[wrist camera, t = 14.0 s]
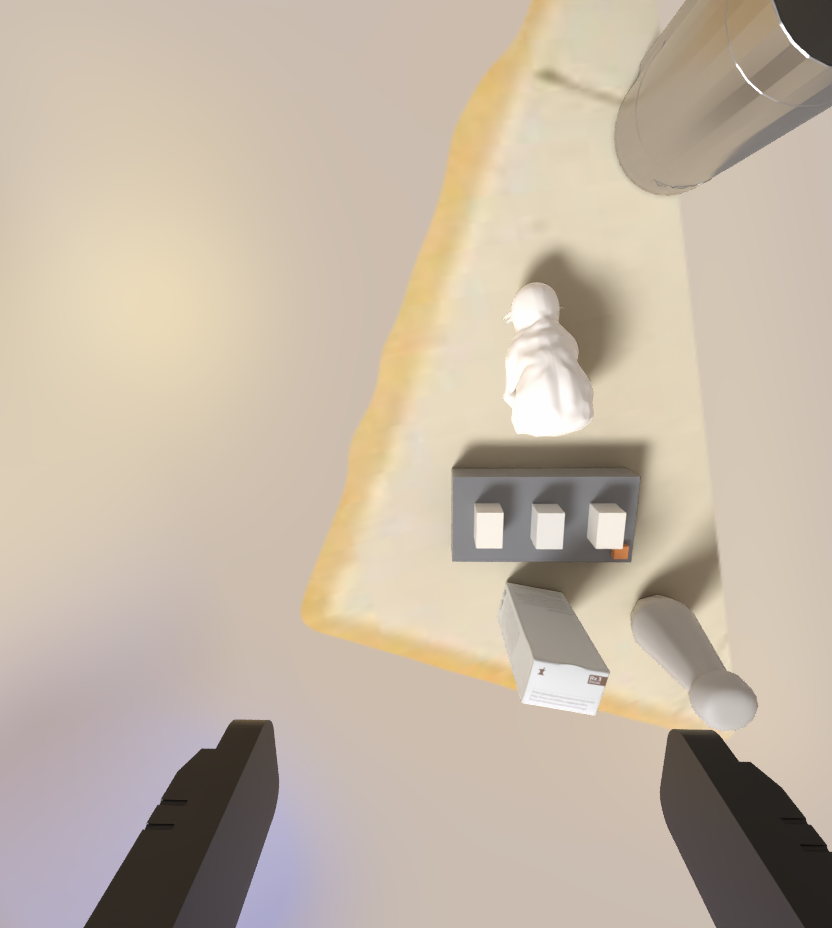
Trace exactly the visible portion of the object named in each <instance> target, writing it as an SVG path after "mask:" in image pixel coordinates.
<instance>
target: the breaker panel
mask: <svg viewBox="0 0 832 928" xmlns="http://www.w3.org/2000/svg"><path fill="white" fill-rule="evenodd" d="M639 486H640V476H639V475H637V474H635V473H634V472H632V471H631V470H629V469H628V468H452V524H451V549H452V561H463V562H631V558H632V549H633V540H634V531H635V522H636V513H637V504H638V495H639ZM532 504H558V505H559V506H560V508H561V509H562V510H563V511H564V513H565V521H564V535H563V549H536V548H535V546H534V544H533V542H532V540H531V538H530V534H531V514H532Z"/></svg>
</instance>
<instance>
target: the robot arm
mask: <svg viewBox="0 0 832 928" xmlns="http://www.w3.org/2000/svg"><path fill="white" fill-rule="evenodd" d="M831 106H832V0H686V1H685V2H684V4H683V5H682V7H681V8H680V9H679V11H678V12H677V14H676V15H675V16H674V17H673V19H672V20H671V22H670V23H669V24H668V26H667V27H666V29H665V30H664V31H663V33H662V34H661V35H660V37H659V38H658V39H657V41H656V42H655V44H654V45H653V46H652V48H651V49H650V50H649V52H648V53H647V55H646V56H645V57H644V59H643V60H642V61H641V64H640V73H639V77H638V79H637V80H636V82H635V84H634V85H633V86H632V88H631V89H630V90H629V92H628V93H627V95H626V97H625V99H624V101H623V103H622V105H621V107H620V109H619V113H618V117H617V120H616V126H615V147H616V153H617V156H618V160H619V163H620V165H621V167H622V168H623V170H624V172H625V174H626V175H627V176H628V177H629V178H630V179H631V181H632V182H633V183H634V184H636V185H637V186H639V187H640V188H642V189H643V190H645V191H648V192H651V193H654V194H658V195H675V194H681V193H684V192H687V191H689V190H692V189H694V188H696V187H697V186H699V185H701V184H703V183H705V182H707V181H709V180H711V179H712V178H713V177H714V176H716V175H718V174H719V173H721V172H723V171H724V170H726V169H728V168H730V167H731V166H733V165H735V164H737V163H738V162H740V161H742V160H743V159H745V158H746V157H748V156H750V155H751V154H753V153H755V152H756V151H758V150H760V149H761V148H763V147H765V146H766V145H768V144H770V143H771V142H773V141H775V140H776V139H778V138H780V137H781V136H783V135H785V134H786V133H788V132H789V131H791V130H793V129H795V128H796V127H798V126H799V125H801V124H803V123H805V122H806V121H808V120H809V119H811V118H813V117H814V116H816V115H818V114H819V113H821V112H823V111H825V110H826V109H828V108H830V107H831ZM278 791H279V774H278V765H277V756H276V747H275V738H274V729H273V724H272V722H271V721H270V720H233V721H232V722H231V723H230V724H229V726H228V727H227V729H226V731H225V733H224V735H223V737H222V738H221V740H220V742H219V744H218V746H217V748H216V749H201V750H200V751H199V752H198V753H197V754H196V755H195V756H194V757H193V758H192V759H190V760H189V761H188V762H187V763H186V764H185V765H184V766H183V767H182V768H181V769H180V770H179V771H178V772H177V774H176V775H175V777H174V779H173V780H172V782H171V784H170V785H169V787H168V788H167V790H166V792H165V793H164V795H163V797H162V799H161V803H160V805H157V807H156V808H155V810H154V812H153V813H152V815H151V817H150V818H149V820H148V822H147V825H146V828H145V830H142V832H141V833H140V835H139V837H138V838H137V840H136V842H135V843H134V845H133V847H132V848H131V850H130V852H129V853H128V855H127V857H126V858H125V860H124V862H123V863H122V865H121V866H120V868H119V870H118V872H117V873H116V875H115V876H114V878H113V880H112V881H111V883H110V885H109V886H108V888H107V890H106V891H105V893H104V895H103V896H102V898H101V900H100V901H99V903H98V905H97V906H96V908H95V910H94V911H93V913H92V915H91V916H90V918H89V920H88V921H87V923H86V925H85V926H84V928H235V927H236V924H237V922H238V919H239V916H240V913H241V910H242V907H243V904H244V901H245V898H246V895H247V892H248V889H249V886H250V883H251V880H252V878H253V875H254V872H255V869H256V866H257V863H258V860H259V857H260V854H261V851H262V848H263V845H264V842H265V840H266V837H267V833H268V831H269V828H270V825H271V822H272V819H273V816H274V813H275V809H276V804H277V799H278ZM660 800H661V806H662V811H663V815H664V818H665V821H666V824H667V826H668V829H669V831H670V833H671V835H672V837H673V839H674V841H675V843H676V845H677V847H678V849H679V852H680V854H681V856H682V858H683V860H684V862H685V864H686V866H687V868H688V870H689V872H690V874H691V876H692V878H693V880H694V882H695V885H696V887H697V889H698V891H699V893H700V895H701V897H702V899H703V901H704V903H705V905H706V907H707V909H708V911H709V913H710V916H711V918H712V920H713V922H714V924H715V926H716V928H832V852H829V851H828V849H827V845H826V844H825V842H824V841H823V840H822V838H821V837H820V836H819V834H818V833H817V832H816V831H815V829H814V828H813V827H812V826H811V825H808V824H807V822H806V818H805V817H804V816H803V814H802V813H801V812H800V810H799V809H798V808H797V807H796V805H795V804H794V803H793V802H792V800H791V799H790V798H789V796H788V795H787V794H786V792H785V791H784V790H783V789H782V788H781V787H780V786H779V785H778V784H777V783H775V782H774V781H773V780H772V779H771V778H769V777H768V776H767V775H765V774H764V773H763V772H762V771H761V770H760V769H758V768H757V767H756V766H755V765H753V764H752V763H751V762H739V761H738V760H737V758H736V757H735V756H734V754H733V753H732V752H731V750H730V749H729V748H728V746H727V745H726V743H725V742H724V741H723V739H722V738H721V737H720V736H719V735H718V734H717V733H716V732H715V731H713V730H684V729H672V730H671V731H670V732H669V735H668V738H667V745H666V753H665V759H664V766H663V773H662V779H661V786H660Z"/></svg>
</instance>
